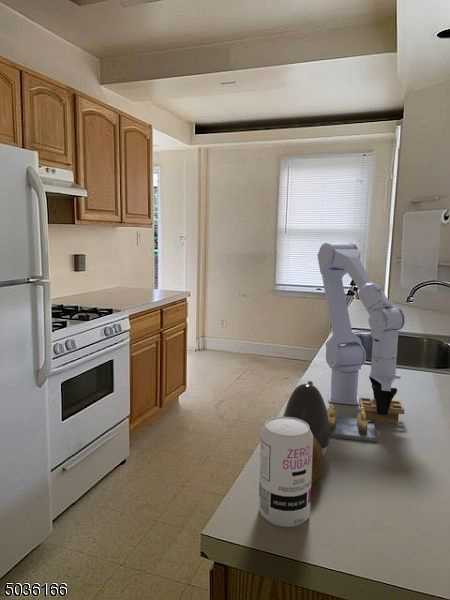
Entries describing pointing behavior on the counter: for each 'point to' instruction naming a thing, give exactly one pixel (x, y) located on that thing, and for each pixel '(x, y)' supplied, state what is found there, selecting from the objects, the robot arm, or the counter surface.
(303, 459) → the supplement can
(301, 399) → the dark grey tall dome
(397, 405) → the wooden frame
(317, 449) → the potato
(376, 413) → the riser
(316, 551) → the counter surface
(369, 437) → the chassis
